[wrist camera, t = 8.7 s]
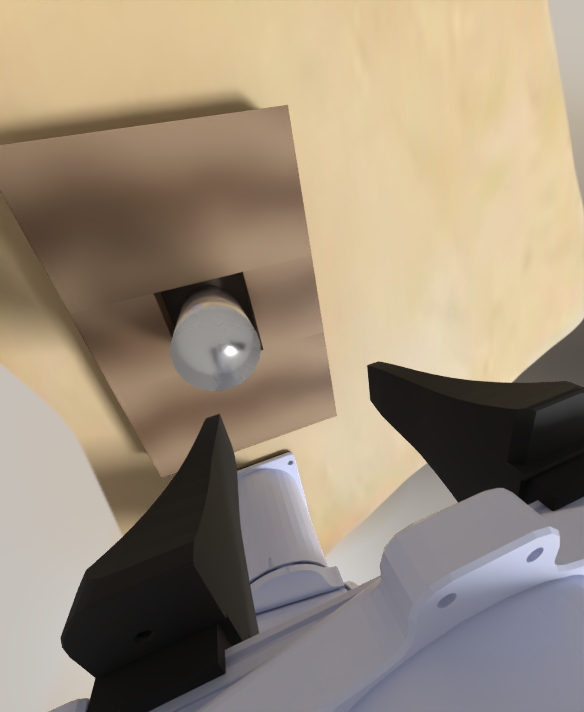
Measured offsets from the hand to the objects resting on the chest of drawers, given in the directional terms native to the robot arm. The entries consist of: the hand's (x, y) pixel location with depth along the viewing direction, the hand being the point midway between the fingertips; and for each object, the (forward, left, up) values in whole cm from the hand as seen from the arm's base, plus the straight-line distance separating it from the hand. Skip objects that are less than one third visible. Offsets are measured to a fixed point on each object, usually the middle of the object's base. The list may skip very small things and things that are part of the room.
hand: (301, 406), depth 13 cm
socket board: (+3, +3, -9) cm, 10 cm away
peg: (+3, +3, -9) cm, 10 cm away
